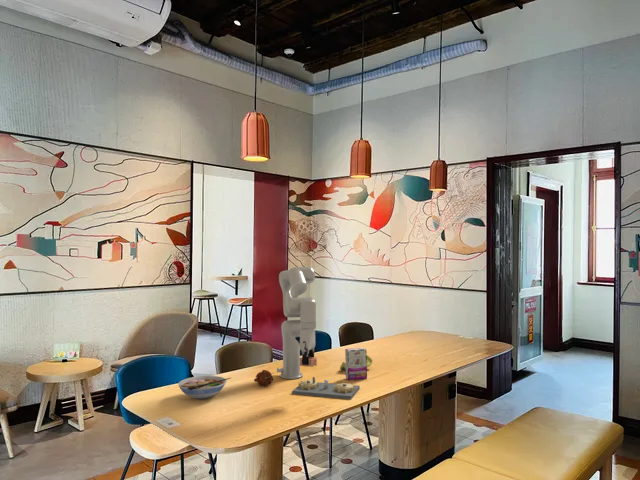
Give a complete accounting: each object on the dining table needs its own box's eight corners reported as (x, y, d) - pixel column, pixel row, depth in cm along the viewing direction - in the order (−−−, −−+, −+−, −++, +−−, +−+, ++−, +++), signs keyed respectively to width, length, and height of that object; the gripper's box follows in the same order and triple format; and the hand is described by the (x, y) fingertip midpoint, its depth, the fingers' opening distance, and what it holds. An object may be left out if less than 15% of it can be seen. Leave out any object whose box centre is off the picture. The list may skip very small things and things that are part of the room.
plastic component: (353, 370, 264) (341, 360, 270) (349, 380, 266) (338, 370, 273) (376, 362, 277) (364, 352, 283) (372, 372, 279) (361, 362, 286)
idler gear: (297, 365, 217) (297, 359, 217) (302, 362, 223) (302, 356, 224) (314, 367, 214) (314, 360, 214) (318, 363, 221) (318, 357, 221)
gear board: (292, 393, 228) (292, 380, 228) (304, 384, 245) (304, 371, 245) (351, 399, 218) (351, 385, 219) (359, 388, 236) (359, 375, 236)
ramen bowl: (209, 386, 240) (209, 371, 241) (237, 395, 226) (237, 378, 226) (166, 398, 221) (166, 381, 221) (195, 408, 207) (195, 390, 207)
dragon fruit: (270, 391, 238) (257, 389, 246) (280, 378, 243) (266, 377, 252) (261, 379, 235) (248, 378, 244) (271, 367, 240) (258, 366, 249)
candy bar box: (364, 376, 258) (363, 347, 259) (367, 379, 254) (367, 349, 254) (345, 378, 255) (344, 348, 256) (348, 380, 251) (347, 350, 251)
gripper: (307, 322, 229) (307, 358, 228) (294, 328, 212) (294, 366, 212) (321, 323, 226) (321, 359, 226) (309, 328, 210) (309, 368, 210)
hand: (308, 362), depth 219 cm, fingers closed on idler gear, 6 cm apart
